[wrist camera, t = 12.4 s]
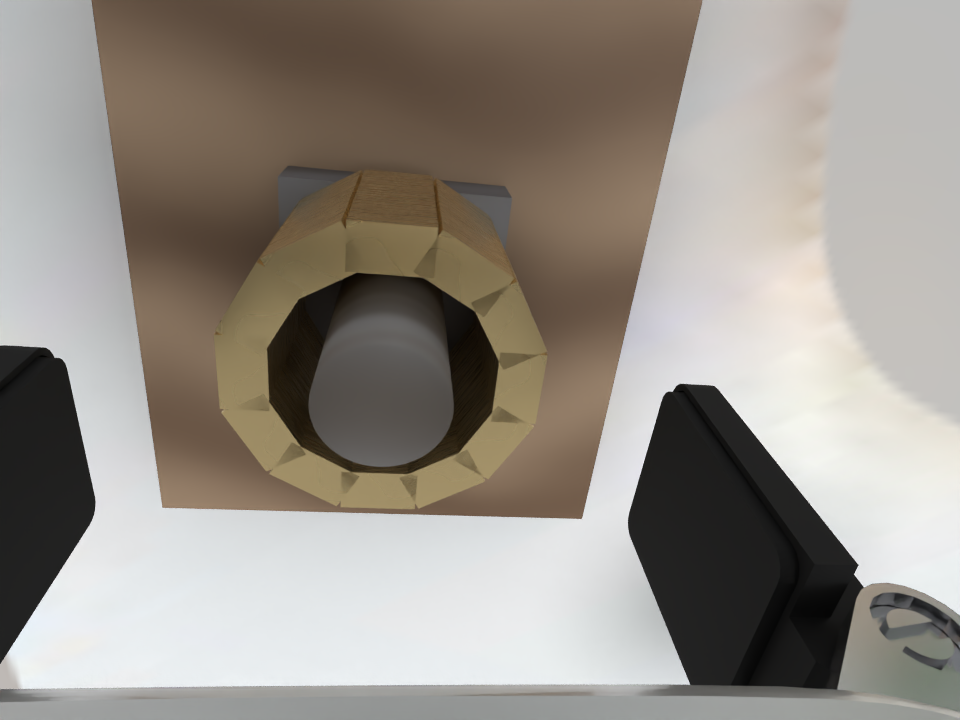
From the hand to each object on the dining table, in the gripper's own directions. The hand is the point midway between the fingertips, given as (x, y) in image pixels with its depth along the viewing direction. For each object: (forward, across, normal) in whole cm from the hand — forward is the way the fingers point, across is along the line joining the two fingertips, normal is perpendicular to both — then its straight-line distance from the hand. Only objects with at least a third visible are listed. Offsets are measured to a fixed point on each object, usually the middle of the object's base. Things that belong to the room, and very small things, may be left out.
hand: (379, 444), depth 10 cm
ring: (+8, 0, +1) cm, 8 cm away
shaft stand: (+11, 0, +1) cm, 11 cm away
